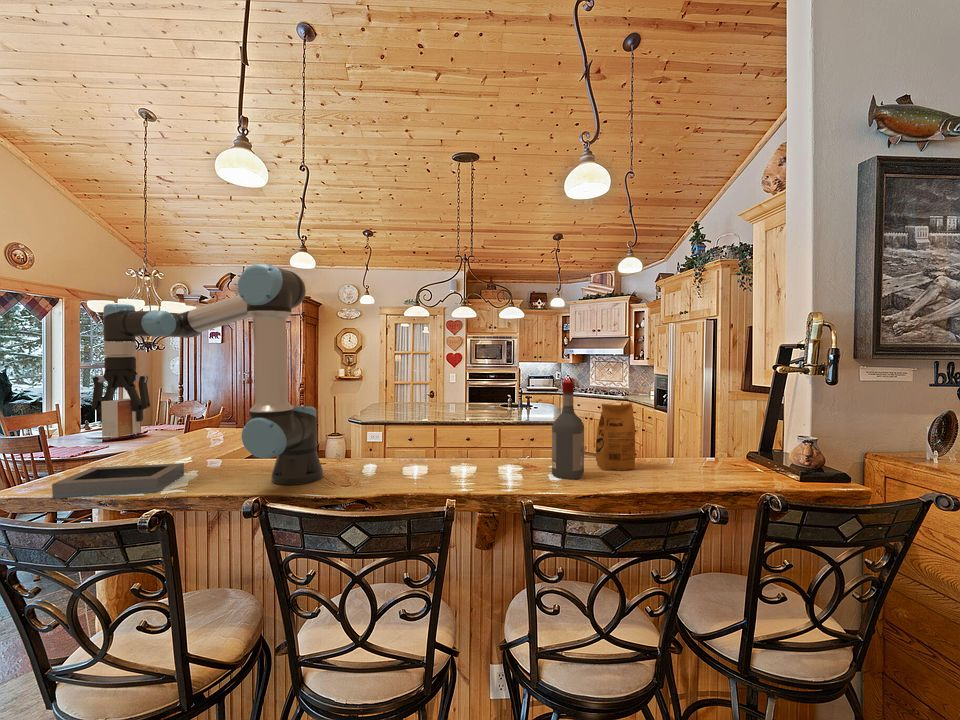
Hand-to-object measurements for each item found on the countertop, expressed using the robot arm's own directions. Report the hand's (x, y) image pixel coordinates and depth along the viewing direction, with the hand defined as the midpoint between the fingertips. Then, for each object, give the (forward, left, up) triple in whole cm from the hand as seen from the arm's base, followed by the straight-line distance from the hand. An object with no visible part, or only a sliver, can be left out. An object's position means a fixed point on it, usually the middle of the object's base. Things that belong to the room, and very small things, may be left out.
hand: (122, 432), depth 140 cm
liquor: (-135, +16, -16) cm, 137 cm away
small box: (0, 0, -1) cm, 1 cm away
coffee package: (-155, +10, -16) cm, 156 cm away
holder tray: (0, 0, -16) cm, 16 cm away
